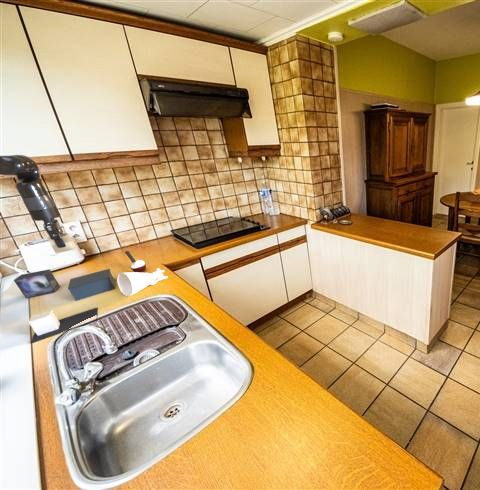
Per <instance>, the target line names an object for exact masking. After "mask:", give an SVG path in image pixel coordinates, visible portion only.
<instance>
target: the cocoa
mask: <svg viewBox="0 0 480 490" xmlns="http://www.w3.org/2000/svg"><path fill="white" fill-rule="evenodd" d="M124 253H125V255H126V256H127V257H128V259H129V260H130V261H131V265H130V269H131V271H132V272H140V273H145V271H146V270H147V265H146V262H145V261H144V260H142V259H137V260H136V259H135V257H134V256H133V255H132V254H131V252H130V251H129V250H125V252H124Z"/></svg>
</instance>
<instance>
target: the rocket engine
mask: <svg viewBox="0 0 480 490" xmlns="http://www.w3.org/2000/svg"><path fill="white" fill-rule="evenodd" d="M164 273H165V270H164V269H162V270H161V269H160V268H156V270H155V271H152V272H151V273H150V272H141V273H140V272H134V271H132V272H131V271H129V272H128V271H125V272H119V273H118V275H117V277H116V278H117V279H116V280H117V286H118V288H119V290H120V292H121V293H122V294H123V296H125V297H131V296H133V295H135V294H137V293H139V292H140V291H142V290H144V289H145V288H147V287H148V286H153V285H156V284H157V283H158V282H160V281H163V280H166V279H168V278H169V276H168V275H164Z"/></svg>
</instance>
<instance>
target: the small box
mask: <svg viewBox="0 0 480 490" xmlns="http://www.w3.org/2000/svg"><path fill="white" fill-rule="evenodd" d="M13 282H14V283H15V285H16V286H17V288H18V289H19V291H20V292H21V293H22V296H23V297H24V298H25V299H29V298H34V297H39V296H43V295H48V294H52V293H53V294H54V293H55V292H57V291H58V290H59V289H60V288H61V285H60V284H59V282H58V280H57V279H56V277H55V276H54V274H53V272H52V270H51V269H50V268H49V269H44V270H38V271H33V272H27V273H23V274H20V275H18V276H17V277H16V278H15V279H13Z"/></svg>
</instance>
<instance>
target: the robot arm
mask: <svg viewBox="0 0 480 490" xmlns="http://www.w3.org/2000/svg"><path fill="white" fill-rule="evenodd" d="M0 176H15V177H16V179H17V182H16V183H15V184H14V185H15V190H16V191H17V193H18V194H19V196H20V198H21V199H22V202H23V204H24V207H25V208H26V210H27V212H28V213H29V215H30V217H31V218H32V220H33V221H35V222H39V221H42V222H43V224H42V226H43V229H44V230H45V231H46V233H47V235H48V236H50V238H51V239H52V240H54V241H55V243H56V244H57V246H58V248H63V247H66V245H65V243H64V241H63V239H62V236H61V235H60V234H64V230H63V228H62V227H61V225H60V222H59V220H58V219H56V218H59V217H60V216H61V213H60V211H59V209H58V207H57V206H56V204H55V201H54V200H53V199H52V197H51V196H50V195H49V193H48V190H47V189H46V187H45V186H44V184H43V180H42V175H41V171H40V168H39V166H38V164H37V163H36V161H35V160H33V158H31V157H30V156H27V155H24V154H11V155H10V154H9V155H0ZM54 235H57V236H54Z"/></svg>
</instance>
